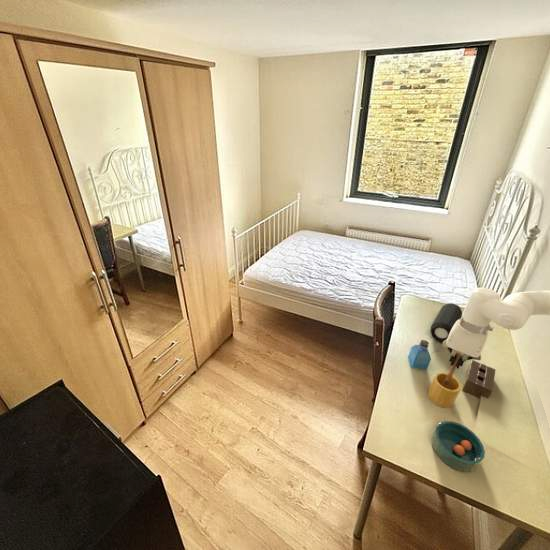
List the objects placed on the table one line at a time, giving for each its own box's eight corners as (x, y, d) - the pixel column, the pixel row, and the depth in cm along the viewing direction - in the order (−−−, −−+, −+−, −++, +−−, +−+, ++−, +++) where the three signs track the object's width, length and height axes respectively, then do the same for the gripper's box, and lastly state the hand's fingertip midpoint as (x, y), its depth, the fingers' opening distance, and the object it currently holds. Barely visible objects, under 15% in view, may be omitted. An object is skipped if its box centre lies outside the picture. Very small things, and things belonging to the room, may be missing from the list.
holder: (490, 379, 120) (495, 369, 117) (486, 401, 111) (492, 391, 108) (467, 370, 124) (472, 359, 121) (462, 390, 115) (467, 379, 112)
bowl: (481, 447, 95) (487, 437, 93) (475, 482, 86) (481, 473, 83) (436, 422, 103) (440, 413, 100) (426, 453, 93) (431, 444, 91)
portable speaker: (448, 347, 136) (455, 330, 132) (426, 338, 142) (432, 321, 137) (459, 321, 154) (465, 306, 149) (439, 314, 159) (444, 298, 154)
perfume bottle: (411, 367, 125) (419, 346, 119) (408, 357, 130) (414, 336, 124) (426, 369, 124) (435, 348, 118) (422, 359, 129) (430, 338, 124)
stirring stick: (448, 383, 109) (462, 353, 101) (448, 386, 108) (462, 356, 100) (443, 382, 110) (457, 351, 101) (443, 384, 109) (457, 354, 100)
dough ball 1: (468, 452, 90) (461, 442, 92) (461, 457, 90) (454, 446, 91) (463, 453, 93) (456, 444, 94) (456, 458, 92) (449, 448, 94)
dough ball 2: (457, 438, 95) (459, 448, 93) (466, 437, 93) (469, 446, 91) (463, 443, 96) (465, 453, 94) (472, 442, 94) (474, 451, 92)
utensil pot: (455, 396, 112) (463, 380, 108) (450, 412, 106) (459, 395, 102) (431, 384, 117) (437, 368, 113) (425, 399, 111) (432, 383, 107)
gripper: (503, 328, 93) (481, 369, 102) (449, 309, 101) (433, 349, 110) (501, 340, 87) (478, 382, 96) (444, 319, 96) (428, 360, 105)
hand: (454, 364), depth 103 cm, fingers closed on stirring stick, 1 cm apart
